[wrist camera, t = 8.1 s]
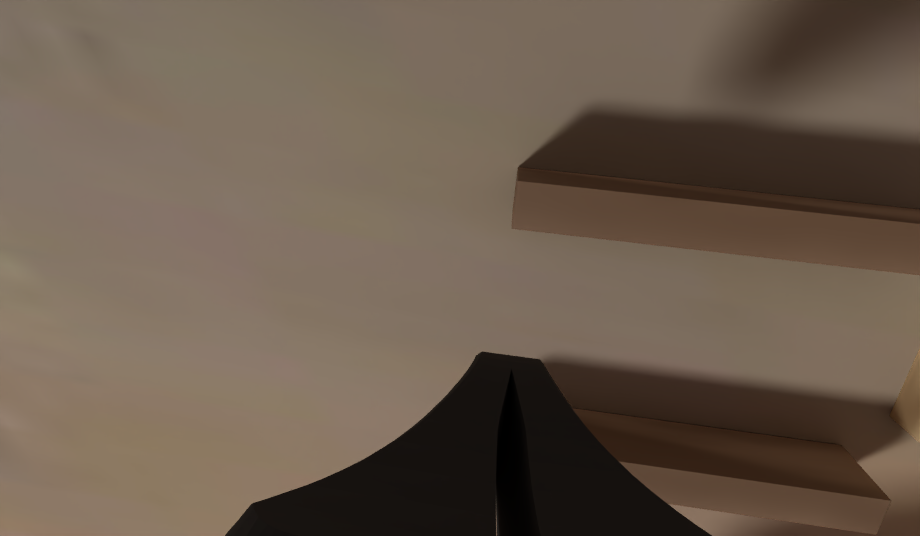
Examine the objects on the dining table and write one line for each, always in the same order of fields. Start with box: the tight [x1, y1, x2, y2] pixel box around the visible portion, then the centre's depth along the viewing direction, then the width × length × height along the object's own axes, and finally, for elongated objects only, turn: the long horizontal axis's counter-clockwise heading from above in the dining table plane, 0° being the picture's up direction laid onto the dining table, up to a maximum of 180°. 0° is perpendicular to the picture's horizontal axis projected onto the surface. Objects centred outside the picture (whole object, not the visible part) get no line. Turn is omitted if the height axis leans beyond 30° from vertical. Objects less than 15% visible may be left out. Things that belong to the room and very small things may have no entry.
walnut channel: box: [512, 167, 920, 535], centre depth 19 cm, size 11×14×3 cm
